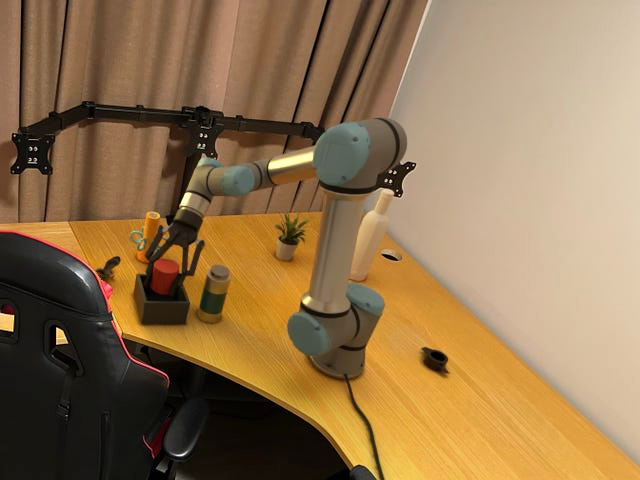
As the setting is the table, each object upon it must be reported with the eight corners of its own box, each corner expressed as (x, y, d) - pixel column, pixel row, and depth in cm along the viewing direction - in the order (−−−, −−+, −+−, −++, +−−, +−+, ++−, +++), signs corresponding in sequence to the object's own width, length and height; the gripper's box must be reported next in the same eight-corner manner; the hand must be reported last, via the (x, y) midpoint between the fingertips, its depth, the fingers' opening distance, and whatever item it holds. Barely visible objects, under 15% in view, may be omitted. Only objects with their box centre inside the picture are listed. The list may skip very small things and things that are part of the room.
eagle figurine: (121, 285, 182) (126, 264, 188) (109, 268, 178) (114, 246, 183) (98, 291, 185) (104, 270, 191) (86, 274, 181) (92, 253, 186)
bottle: (364, 270, 212) (399, 187, 193) (367, 283, 206) (404, 199, 187) (340, 265, 212) (373, 182, 192) (343, 278, 206) (377, 194, 187)
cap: (177, 294, 172) (181, 273, 168) (153, 294, 170) (157, 272, 166) (172, 280, 177) (176, 258, 172) (148, 279, 175) (152, 258, 171)
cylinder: (123, 249, 199) (129, 206, 190) (153, 246, 203) (160, 203, 194) (138, 270, 191) (144, 227, 182) (169, 267, 196) (177, 224, 186)
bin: (185, 324, 175) (190, 303, 170) (141, 324, 172) (144, 302, 167) (175, 294, 185) (179, 274, 180) (133, 294, 182) (136, 273, 177)
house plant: (254, 259, 207) (267, 215, 196) (262, 240, 217) (275, 197, 206) (297, 272, 205) (312, 228, 194) (303, 252, 215) (318, 209, 204)
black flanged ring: (421, 371, 175) (425, 363, 173) (418, 349, 183) (422, 341, 181) (448, 378, 175) (453, 371, 173) (445, 356, 182) (449, 349, 180)
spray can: (222, 323, 178) (235, 277, 168) (200, 323, 177) (211, 277, 167) (216, 308, 183) (228, 263, 173) (194, 308, 181) (205, 263, 171)
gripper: (225, 230, 173) (193, 307, 172) (160, 207, 178) (128, 282, 176) (223, 221, 166) (189, 301, 165) (155, 197, 170) (122, 275, 169)
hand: (158, 291), depth 171 cm, fingers closed on cap, 7 cm apart
